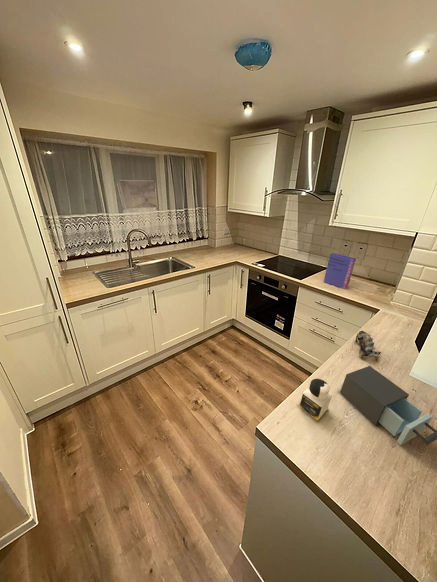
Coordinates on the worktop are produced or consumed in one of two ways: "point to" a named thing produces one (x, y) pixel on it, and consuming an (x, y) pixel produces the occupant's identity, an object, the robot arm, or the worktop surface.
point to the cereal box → (339, 270)
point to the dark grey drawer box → (371, 392)
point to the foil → (366, 341)
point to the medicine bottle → (316, 398)
